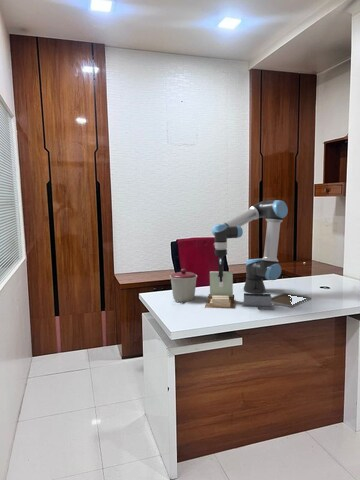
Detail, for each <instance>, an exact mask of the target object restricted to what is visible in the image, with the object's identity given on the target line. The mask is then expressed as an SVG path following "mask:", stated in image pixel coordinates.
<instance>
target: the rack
mask: <svg viewBox="0 0 360 480" xmlns="http://www.w3.org/2000/svg"><path fill="white" fill-rule="evenodd" d="M211 299H212V296H210V293H209V294H208V295H207V301H206V303H205V305H204V309H227V310H230V309H231V310H233V309H234V310H235V309H236V304H237V300H236V299H235V294H233V297H230V296H229V300H231V305H230V307H210V301H211Z"/></svg>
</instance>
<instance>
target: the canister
mask: <svg viewBox="0 0 360 480" xmlns="http://www.w3.org/2000/svg"><path fill="white" fill-rule="evenodd" d="M169 278H170V283H171V290H172V296H173V299H174V301H175V302H176V303H177V302H178V303H187V302H188V301H193V300H194V299H195V296H196V295H195V294H196V287H197V286H196V285H197V278H198V275H197V274H196V273H194V272H192V271H187V269H186V268H182V269H180V271H178V272H174V273H172V274H170V275H169Z"/></svg>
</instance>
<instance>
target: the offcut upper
mask: <svg viewBox="0 0 360 480" xmlns="http://www.w3.org/2000/svg"><path fill="white" fill-rule="evenodd" d="M212 303H229V296H212Z"/></svg>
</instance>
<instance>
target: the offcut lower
mask: <svg viewBox="0 0 360 480" xmlns="http://www.w3.org/2000/svg"><path fill="white" fill-rule="evenodd" d="M230 305H231V300H229V303H212V299H211V301H210V307H230Z"/></svg>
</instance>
